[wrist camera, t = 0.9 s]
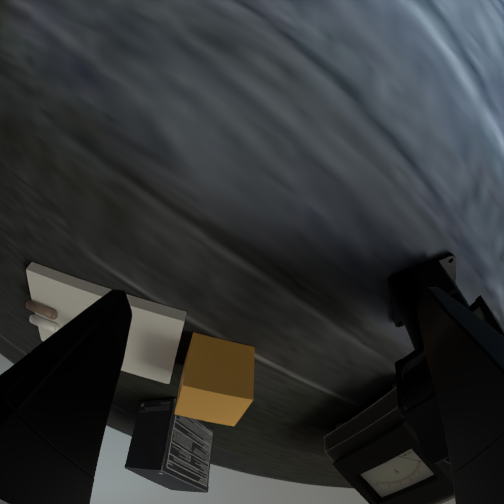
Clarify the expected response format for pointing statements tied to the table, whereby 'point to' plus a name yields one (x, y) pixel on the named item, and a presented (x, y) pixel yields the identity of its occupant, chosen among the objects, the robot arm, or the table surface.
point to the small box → (170, 447)
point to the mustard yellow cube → (216, 380)
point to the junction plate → (85, 294)
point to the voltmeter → (387, 458)
